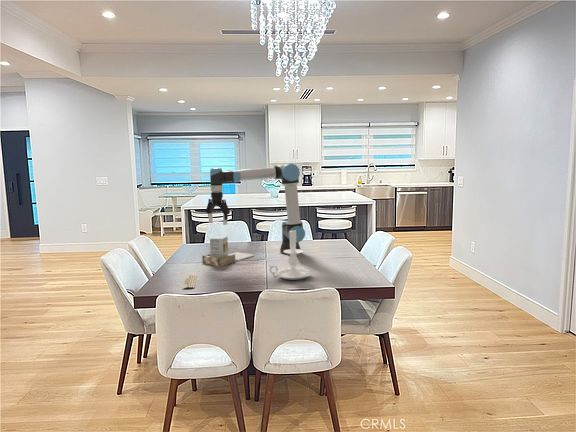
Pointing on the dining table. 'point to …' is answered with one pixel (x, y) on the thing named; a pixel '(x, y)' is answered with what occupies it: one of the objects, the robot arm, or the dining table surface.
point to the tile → (241, 256)
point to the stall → (218, 260)
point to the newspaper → (190, 281)
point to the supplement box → (219, 246)
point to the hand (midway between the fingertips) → (217, 224)
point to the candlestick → (292, 263)
